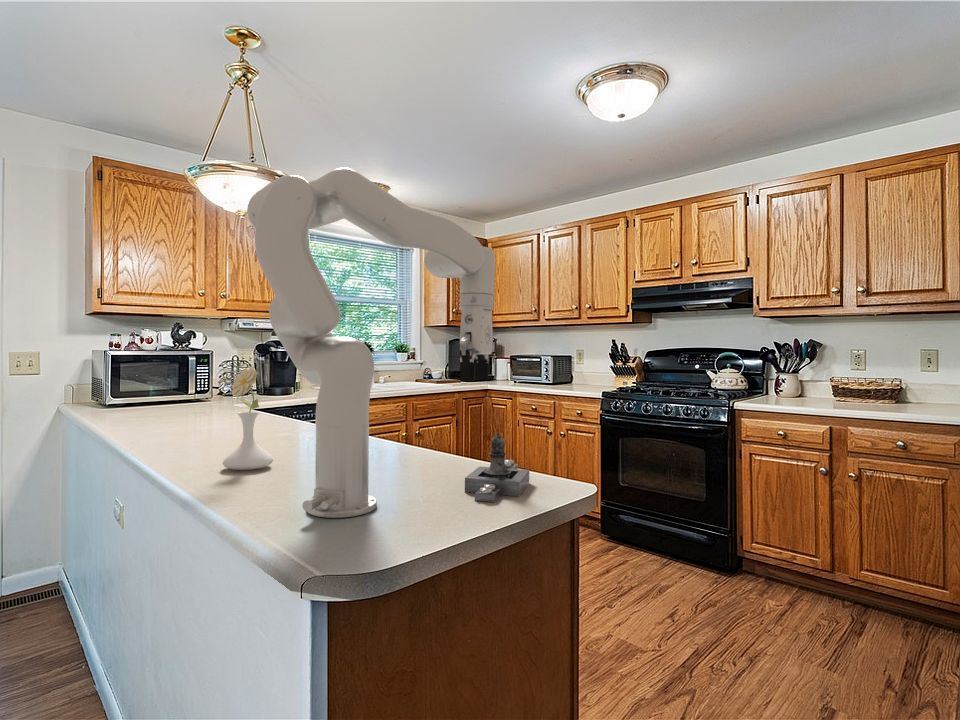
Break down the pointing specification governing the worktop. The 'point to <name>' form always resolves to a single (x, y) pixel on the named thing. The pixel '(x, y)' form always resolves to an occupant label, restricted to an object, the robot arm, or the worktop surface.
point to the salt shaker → (497, 460)
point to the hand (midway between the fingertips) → (474, 380)
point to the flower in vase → (247, 429)
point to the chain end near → (493, 491)
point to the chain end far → (515, 483)
